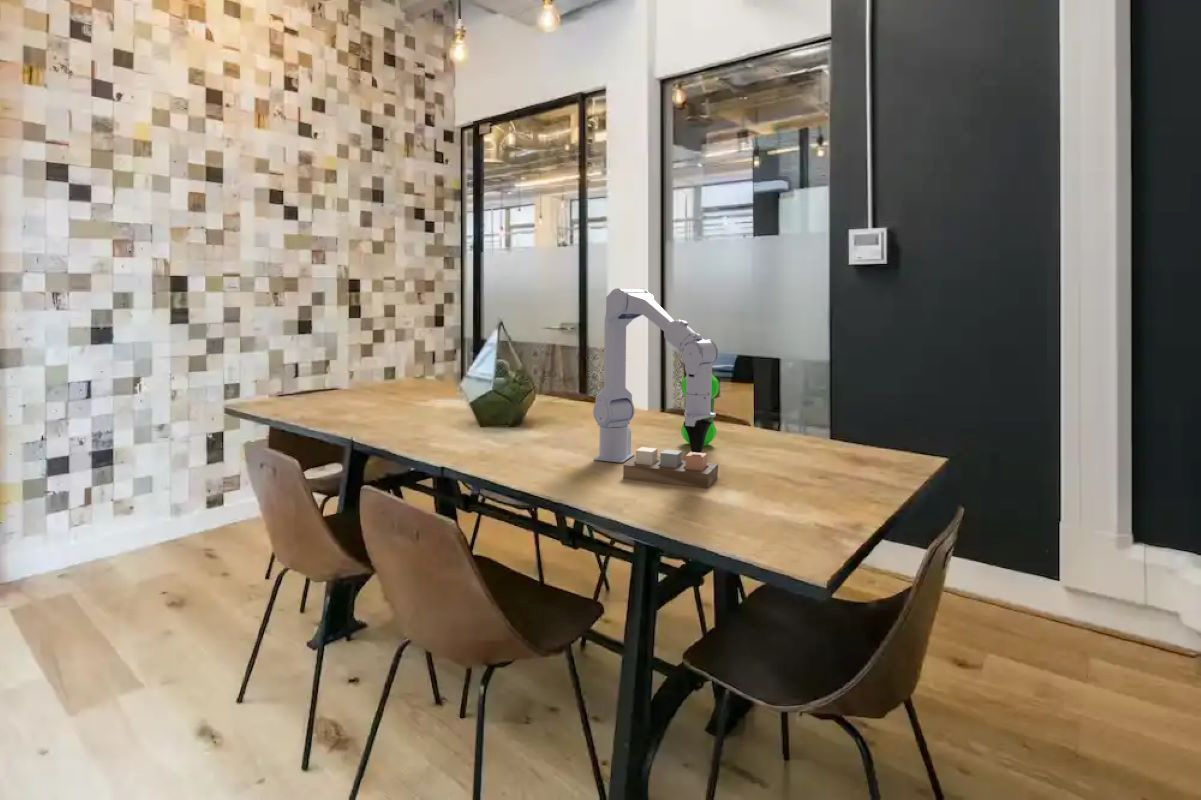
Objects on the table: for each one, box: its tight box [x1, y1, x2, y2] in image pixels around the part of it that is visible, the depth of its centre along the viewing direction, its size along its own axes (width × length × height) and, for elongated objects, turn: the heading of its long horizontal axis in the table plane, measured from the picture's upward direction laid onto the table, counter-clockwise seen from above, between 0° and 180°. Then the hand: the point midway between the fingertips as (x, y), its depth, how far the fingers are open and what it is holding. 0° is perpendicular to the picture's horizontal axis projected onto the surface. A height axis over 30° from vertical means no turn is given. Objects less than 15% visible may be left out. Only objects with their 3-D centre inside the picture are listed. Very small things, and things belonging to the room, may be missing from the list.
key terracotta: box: [685, 451, 708, 471], centre depth 164 cm, size 4×4×4 cm
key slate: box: [659, 449, 683, 468], centre depth 166 cm, size 4×4×4 cm
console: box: [622, 456, 719, 489], centre depth 167 cm, size 10×20×3 cm, turn 68°
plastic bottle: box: [680, 374, 720, 447], centre depth 201 cm, size 10×10×25 cm
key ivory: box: [635, 446, 658, 465], centre depth 168 cm, size 4×4×4 cm
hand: (696, 451), depth 164 cm, fingers closed
